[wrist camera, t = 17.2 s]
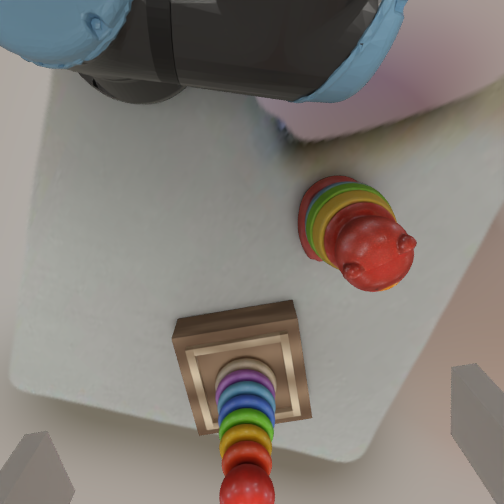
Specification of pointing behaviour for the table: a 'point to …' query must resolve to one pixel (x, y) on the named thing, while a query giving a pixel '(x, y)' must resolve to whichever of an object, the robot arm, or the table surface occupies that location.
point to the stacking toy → (246, 431)
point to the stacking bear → (355, 233)
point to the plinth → (238, 347)
